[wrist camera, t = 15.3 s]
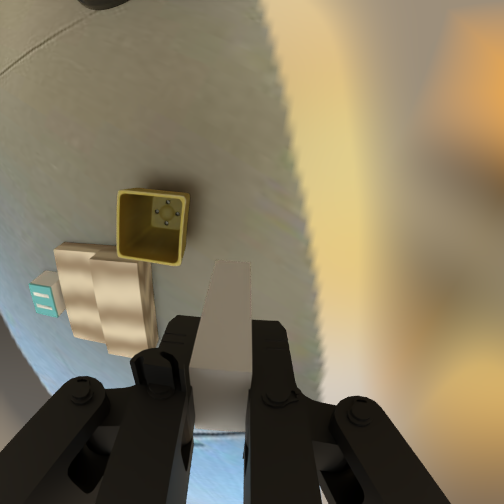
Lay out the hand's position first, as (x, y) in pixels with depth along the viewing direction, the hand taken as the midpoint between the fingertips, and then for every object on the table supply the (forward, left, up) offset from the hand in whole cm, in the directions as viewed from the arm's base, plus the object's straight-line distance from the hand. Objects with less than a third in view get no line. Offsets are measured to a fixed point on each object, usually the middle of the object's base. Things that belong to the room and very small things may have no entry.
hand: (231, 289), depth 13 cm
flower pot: (+4, -11, -30) cm, 32 cm away
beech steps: (+19, -22, -29) cm, 42 cm away
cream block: (+19, -35, -24) cm, 46 cm away
